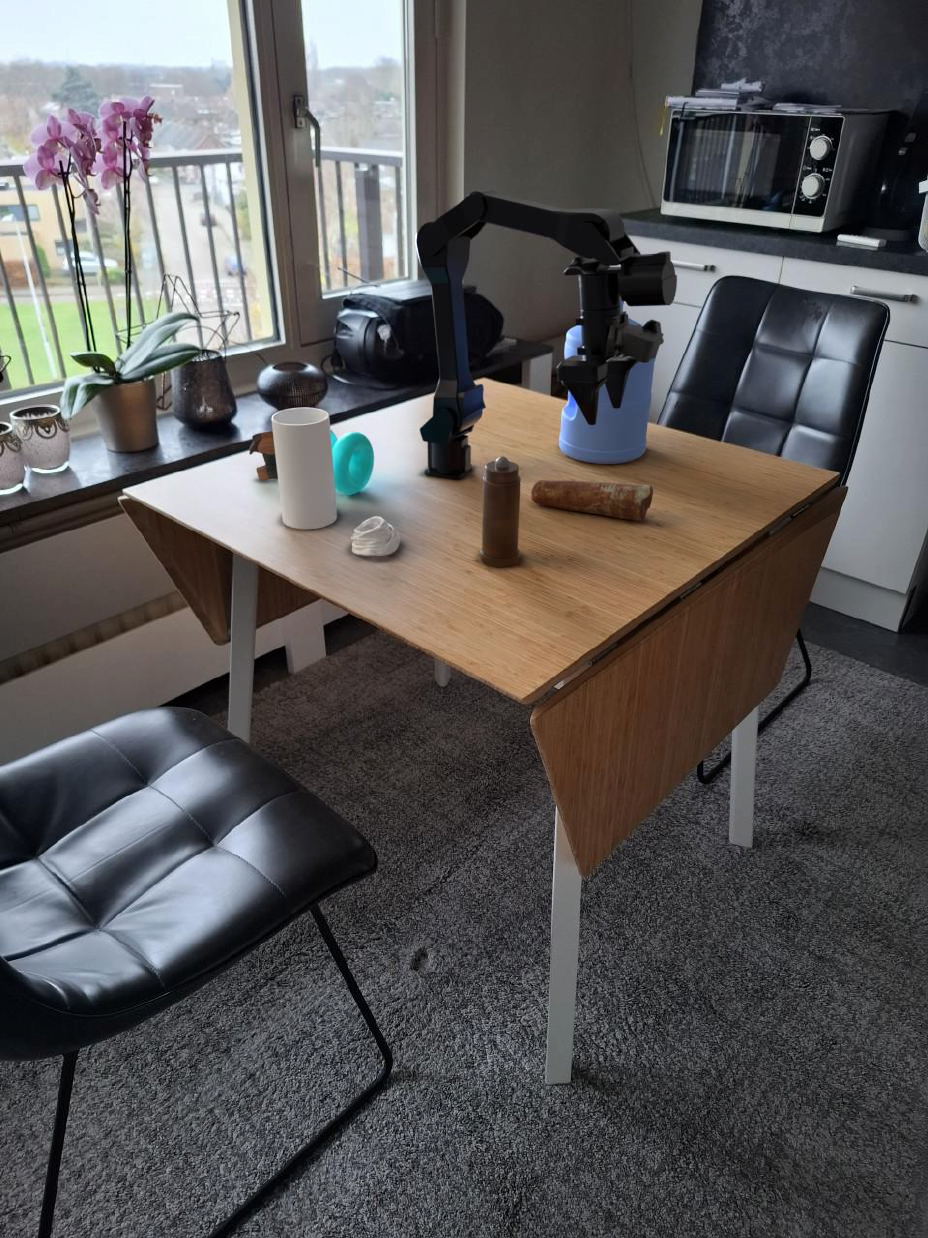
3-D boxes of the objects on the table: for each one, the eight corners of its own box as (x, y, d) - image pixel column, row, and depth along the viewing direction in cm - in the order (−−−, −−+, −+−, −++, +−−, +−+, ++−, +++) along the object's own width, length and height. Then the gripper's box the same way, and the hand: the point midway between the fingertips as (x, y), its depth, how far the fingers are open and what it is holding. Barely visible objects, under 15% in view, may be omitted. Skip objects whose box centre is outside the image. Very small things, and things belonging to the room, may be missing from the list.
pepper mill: (474, 563, 122) (475, 460, 114) (488, 547, 126) (490, 447, 118) (511, 570, 120) (515, 466, 112) (524, 553, 124) (528, 452, 117)
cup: (346, 511, 137) (338, 410, 129) (321, 532, 130) (312, 427, 122) (298, 504, 139) (288, 404, 131) (272, 525, 132) (260, 421, 124)
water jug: (658, 446, 163) (677, 286, 148) (623, 472, 151) (641, 302, 137) (581, 431, 170) (593, 277, 155) (543, 455, 158) (551, 291, 144)
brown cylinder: (645, 528, 132) (649, 494, 129) (525, 508, 138) (527, 474, 135) (655, 513, 137) (659, 479, 134) (539, 493, 143) (540, 461, 140)
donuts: (343, 505, 139) (339, 444, 134) (293, 492, 143) (287, 433, 138) (379, 484, 146) (376, 425, 141) (330, 473, 151) (325, 416, 146)
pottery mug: (241, 483, 148) (235, 434, 148) (271, 488, 157) (266, 442, 156) (303, 472, 144) (298, 422, 143) (331, 478, 152) (326, 431, 152)
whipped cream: (389, 569, 122) (390, 539, 119) (342, 561, 123) (342, 531, 120) (403, 541, 128) (404, 511, 126) (358, 533, 129) (359, 504, 126)
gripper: (629, 318, 114) (632, 436, 121) (678, 294, 128) (678, 401, 135) (551, 320, 119) (558, 432, 127) (606, 296, 133) (610, 399, 140)
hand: (604, 416), depth 132 cm, fingers open, 9 cm apart
